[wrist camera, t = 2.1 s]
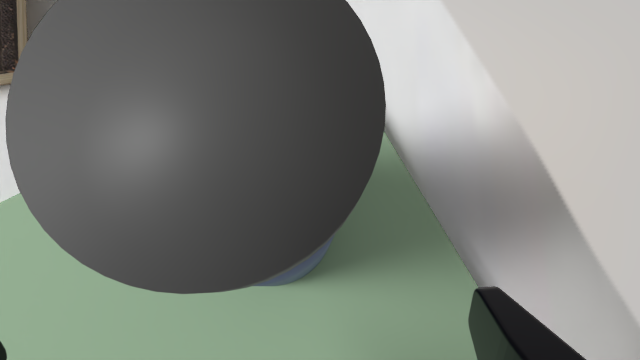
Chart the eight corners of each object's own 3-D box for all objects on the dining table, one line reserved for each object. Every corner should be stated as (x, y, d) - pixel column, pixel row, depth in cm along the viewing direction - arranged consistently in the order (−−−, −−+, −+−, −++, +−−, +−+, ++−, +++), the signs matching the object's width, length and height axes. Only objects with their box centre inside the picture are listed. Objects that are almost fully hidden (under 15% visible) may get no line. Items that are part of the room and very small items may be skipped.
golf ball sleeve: (359, 248, 19) (457, 174, 6) (243, 313, 18) (97, 373, 6) (297, 140, 20) (277, -114, 7) (185, 198, 19) (-50, 30, 7)
